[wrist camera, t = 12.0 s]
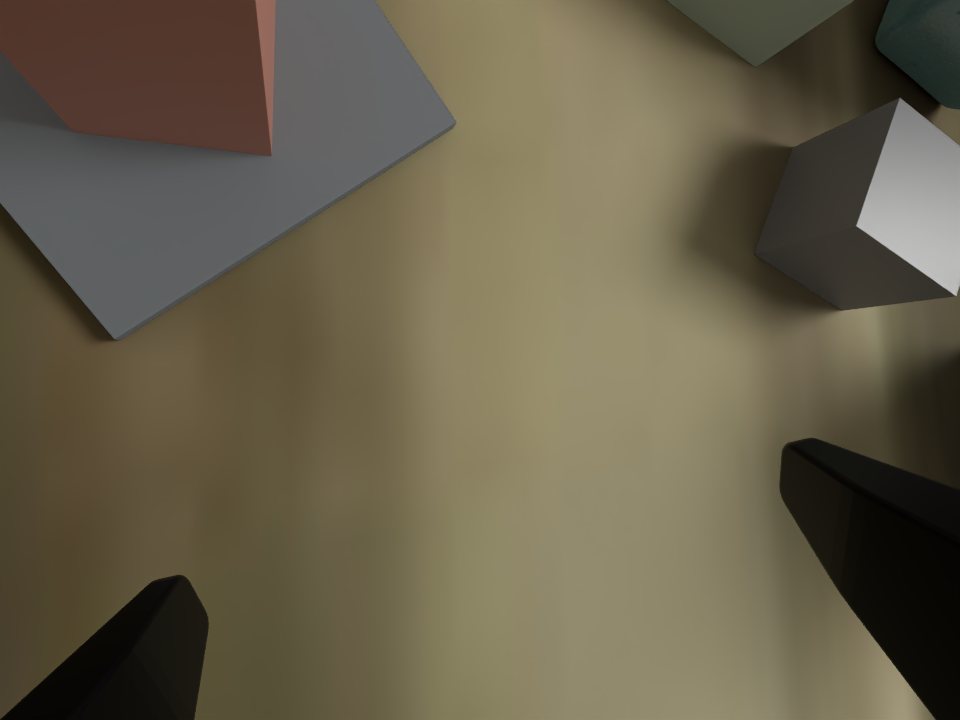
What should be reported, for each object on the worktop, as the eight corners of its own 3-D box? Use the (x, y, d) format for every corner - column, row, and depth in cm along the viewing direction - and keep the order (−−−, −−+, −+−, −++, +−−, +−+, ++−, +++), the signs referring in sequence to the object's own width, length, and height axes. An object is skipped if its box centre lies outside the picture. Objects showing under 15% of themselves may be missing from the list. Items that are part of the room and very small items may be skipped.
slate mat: (119, 340, 16) (114, 339, 16) (-180, -18, 14) (-196, -32, 14) (452, 128, 19) (456, 122, 19) (240, -187, 17) (238, -202, 17)
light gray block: (839, 310, 24) (956, 296, 20) (751, 254, 23) (856, 225, 19) (873, 208, 25) (993, 173, 21) (790, 148, 24) (899, 97, 20)
